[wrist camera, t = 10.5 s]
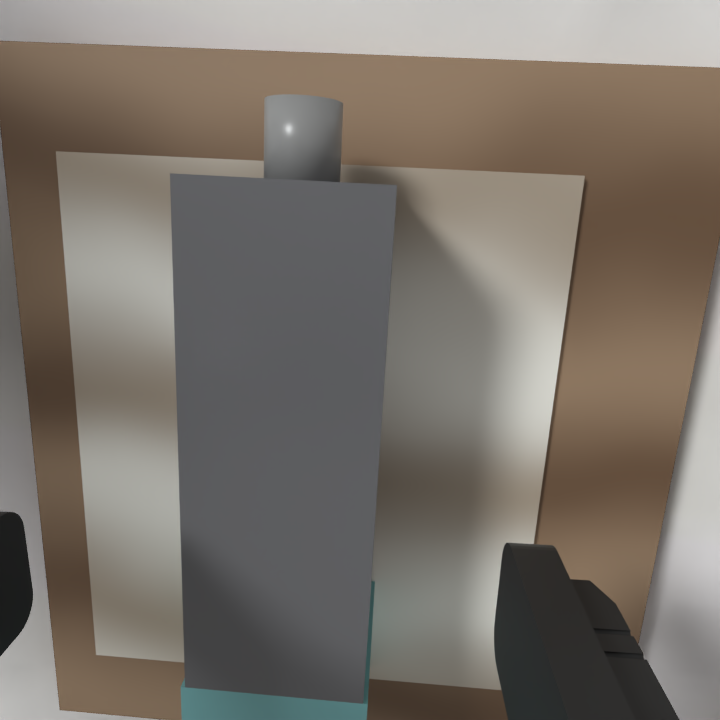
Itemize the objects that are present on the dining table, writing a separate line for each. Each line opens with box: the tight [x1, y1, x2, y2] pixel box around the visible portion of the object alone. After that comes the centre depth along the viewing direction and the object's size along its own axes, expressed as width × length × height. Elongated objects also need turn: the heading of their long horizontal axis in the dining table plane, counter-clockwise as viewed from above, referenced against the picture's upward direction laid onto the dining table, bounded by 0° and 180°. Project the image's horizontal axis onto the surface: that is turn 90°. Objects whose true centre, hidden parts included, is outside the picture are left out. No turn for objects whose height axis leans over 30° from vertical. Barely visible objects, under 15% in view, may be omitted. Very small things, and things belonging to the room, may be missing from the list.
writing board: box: [0, 41, 720, 720], centre depth 17 cm, size 20×18×1 cm
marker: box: [170, 94, 397, 720], centre depth 14 cm, size 16×4×4 cm, turn 177°
